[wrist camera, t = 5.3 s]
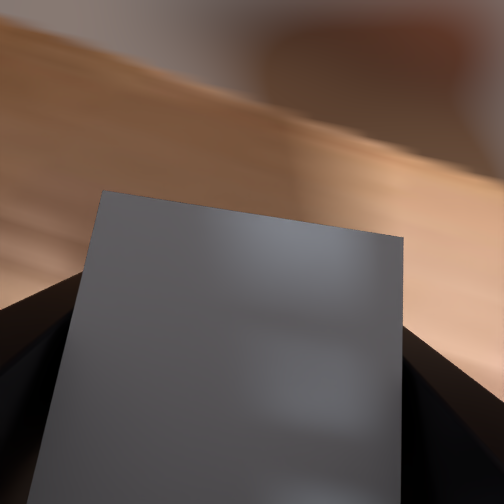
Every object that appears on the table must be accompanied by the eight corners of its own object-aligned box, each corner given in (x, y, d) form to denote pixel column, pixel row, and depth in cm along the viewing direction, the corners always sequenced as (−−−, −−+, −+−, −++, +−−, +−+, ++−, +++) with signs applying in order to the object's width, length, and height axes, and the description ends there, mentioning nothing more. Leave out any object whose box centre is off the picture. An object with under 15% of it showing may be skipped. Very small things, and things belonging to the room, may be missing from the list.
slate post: (278, 472, 15) (399, 585, 6) (122, 455, 14) (15, 551, 6) (291, 319, 16) (403, 237, 8) (152, 300, 16) (103, 189, 7)
